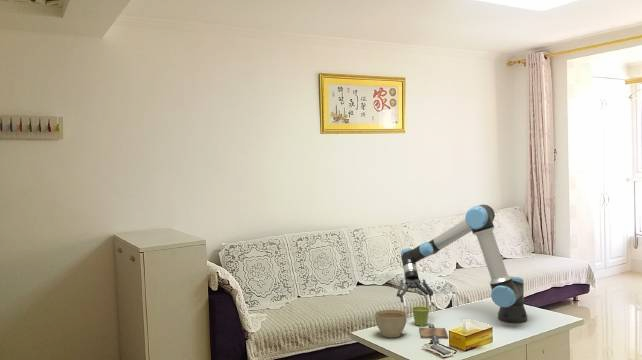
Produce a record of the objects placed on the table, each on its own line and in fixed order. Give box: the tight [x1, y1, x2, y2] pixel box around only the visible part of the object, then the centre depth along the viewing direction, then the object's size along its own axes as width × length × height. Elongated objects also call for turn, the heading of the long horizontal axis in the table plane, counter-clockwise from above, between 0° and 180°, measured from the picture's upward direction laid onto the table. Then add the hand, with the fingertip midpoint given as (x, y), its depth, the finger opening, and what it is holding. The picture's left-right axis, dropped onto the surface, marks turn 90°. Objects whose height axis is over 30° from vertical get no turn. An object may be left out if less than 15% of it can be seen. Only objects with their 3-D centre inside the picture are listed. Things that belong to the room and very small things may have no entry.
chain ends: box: [428, 323, 440, 344], centre depth 269 cm, size 3×26×2 cm, turn 173°
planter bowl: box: [374, 309, 408, 338], centre depth 271 cm, size 16×16×11 cm
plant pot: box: [411, 305, 431, 327], centre depth 287 cm, size 9×9×9 cm
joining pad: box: [418, 327, 449, 340], centre depth 270 cm, size 13×13×1 cm
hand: (417, 306), depth 290 cm, fingers open, 13 cm apart
